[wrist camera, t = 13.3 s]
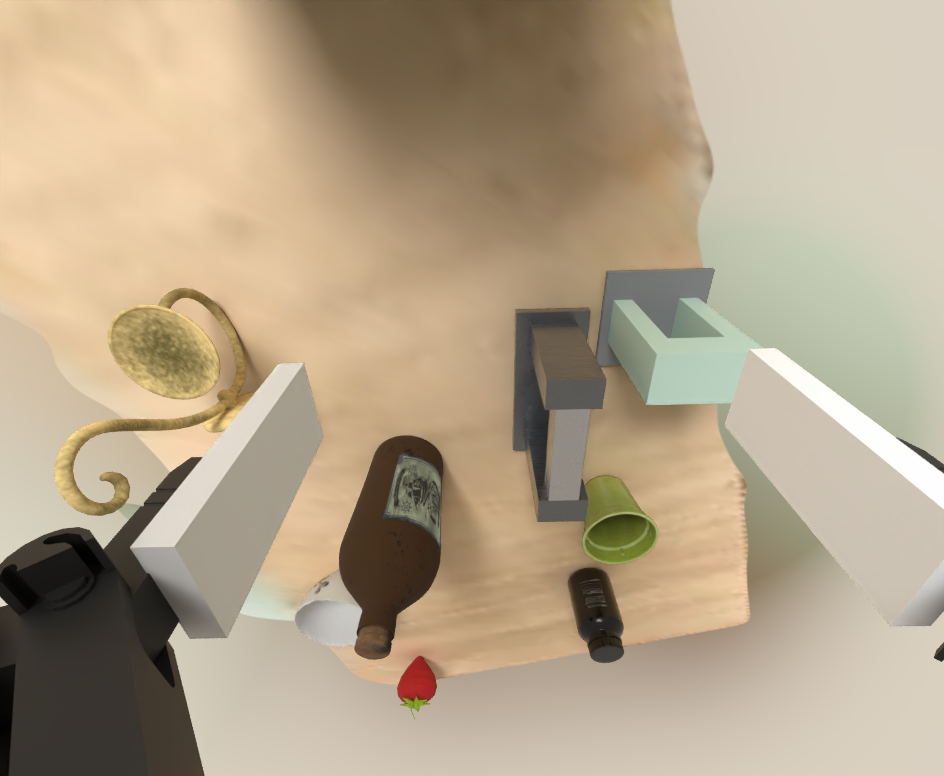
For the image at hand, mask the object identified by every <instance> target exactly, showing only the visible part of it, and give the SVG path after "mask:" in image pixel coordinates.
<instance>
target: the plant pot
mask: <svg viewBox="0 0 944 776" xmlns="http://www.w3.org/2000/svg"><path fill="white" fill-rule="evenodd" d="M585 490H586V493H587V496H588V499H589V501H588V508H587V515H586V521H585V529H584V534H583V537H582V545H583V548H584V551H585V552H586V553H587V555H588V556H589V557H591V558H592V559H594V560H596V561H598V562H602V563H606V564H623V563H628V562H632V561H634V560H637V559H639V558H641V557H643V556H644V555H646V554H647V553H648V552H650V551H651V550H652V549H653V547H654V546H655V545H656V543H657V540H658V536H659V531H658V528H657V526H656V524H655V522H654V521H653V520H652V519H651V518H650V517H648V516H647V515H646V514H645V513H644V512H643V511H641V509H640V508H639V506H638V504H637V503H636V501H635V500H634V498H633V497H632V495H631V494H630V492H629V491H628V489H627V487H626V486H625V484H624V483H623V482H622V481H621V480H620V479H619V478H614V477H609V476H600V477H596V478H594V479H592V480H590V481H589V482H588V483H587V484H586V486H585Z"/></svg>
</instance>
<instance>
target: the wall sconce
mask: <svg viewBox="0 0 944 776" xmlns="http://www.w3.org/2000/svg"><path fill="white" fill-rule="evenodd" d="M181 298H191V299H194V300H196V301H198V302H200V303H201V304H203V305H204V306H205V307H206V308H207V309H208V310H209V311H210V312H211V313H212V314H213V315H214V316H215V317H216V319H217V320H218V321H219V323H220V324H221V326H222V327H223V329H224V330H225V332H226V334H227V336H228V338H229V340H230V343H231V345H232V348H233V352H234V356H235V361H236V377H235V381H234V384H233V385H232V387H231V389H230V390H222V391H220V392H219V393H218V395H217V397H218V399H219V400H220V402H218V403H217V404H216V405H214V406H213V407H211V408H210V409H208V410H205V411H203V412H201V413H198V414H195V415H192V416H188V417H183V418H178V419H114V420H105V421H99V422H95V423H92V424H89V425H86V426H85V427H83V428H81V429H79V430H77V431H76V432H75V433H74V434H72V435H71V436H70V437H69V438H68V440H67V441H66V442H65V443H64V444H63V446H62V448H61V450H60V452H59V453H58V456H57V460H56V463H55V480H56V486H57V488H58V490H59V492H60V494H61V496H62V497H63V498H64V500H65V501H66V502H67V503H68V504H69V505H70V506H72V507H73V508H74V509H76V510H77V511H79V512H82V513H85V514H87V515H97V516H102V515H105V514H110V513H113V512H115V511H116V510H118V509H119V508H121V507H122V506H123V505H124V504H125V502H126V501H127V499H128V498H129V491H130V486H129V483H128V480H127V478H126V477H124V476H123V475H122V474H120V473H115V472H106V473H104V474H102V475H101V476H100V480H101V481H108V482H111V483H112V484H113V485H114V489H115V494H114V498H113V499H112V500H111V501H110V502H107V503H96V502H93V501H91V500H90V499H88V498H87V497H85V496H84V495H83V494H82V493H81V491H80V490H79V488H78V487H77V485H76V482H75V480H74V474H73V465H74V460H75V457H76V454H77V453H78V451H79V450H80V448H81V447H82V446H83V444H84V443H85V442H87V441H88V440H89V439H90V438H92V437H94V436H96V435H99V434H102V433H108V432H117V431H161V430H174V429H181V428H186V427H190V426H193V425H197V424H200V423H202V422H204V423H203V424H204V428H205V429H206V430H207V431H208V432H221V431H225V429H226V428H227V427H228V426H229V424H230V423H231V422H232V421H233V419H234V418H235V417H236V416H237V415H238V413H239V412H240V411H241V410H242V408H243V407H244V406H245V405H246V403H247V402H248V401H249V400H250V398H251V397H252V396H253V395H254V393H255V392H251V393H246V394H243V395H240V396H237V395H238V394H239V392H240V390H241V388H242V386H243V384H244V380H245V359H244V354H243V350H242V346H241V343H240V341H239V338H238V336H237V334H236V332H235V330H234V328H233V326H232V325H231V323H230V321H229V320H228V318H227V317H226V316H225V314H224V313H223V312H222V310H221V309H220V308H219V307H218V306H217V305H216V304H215V303H214V302H213V301H212V300H211V299H210V298H208V297H207V296H205V295H204V294H202V293H200V292H198V291H196V290H193V289H188V288H180V289H175V290H173V291H171V292H169V293H168V294H166V295H165V296H164V297H163V298H162V299H161V301H160V303H159V305H158V306H156V305H136V306H131V307H129V308H126V309H124V310H122V311H121V312H119V313H118V314H117V315H116V316H115V317H114V318H113V320H112V322H111V324H110V326H109V330H108V343H109V347H110V350H111V353H112V355H113V357H114V359H115V361H116V362H117V364H118V365H119V366H120V368H121V369H122V370H123V371H124V372H125V373H126V374H127V375H128V376H129V377H130V378H131V379H132V380H133V381H134V382H136V383H137V384H139V385H140V386H142V387H143V388H145V389H147V390H148V391H151V392H153V393H155V394H158V395H160V396H163V397H167V398H172V399H193V398H197V397H200V396H202V395H204V394H206V393H207V392H209V391H210V390H211V389H212V388H213V387H214V386H215V384H216V382H217V380H218V378H219V374H220V360H219V356H218V353H217V350H216V348H215V346H214V344H213V343H212V341H211V340H210V338H209V337H208V335H207V334H206V333H205V332H204V331H203V330H202V329H201V328H200V327H199V326H198V325H197V324H195V323H194V322H193V321H192V320H190V319H189V318H187V317H186V316H184V315H182V314H180V313H178V312H176V311H174V310H171V309H170V308H171V306H172V305H173V304H174V303H175V302H176V301H177V300H179V299H181Z"/></svg>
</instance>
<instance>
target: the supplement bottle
mask: <svg viewBox="0 0 944 776" xmlns="http://www.w3.org/2000/svg"><path fill="white" fill-rule="evenodd" d="M568 587H569V592H570V597H571V601H572V606H573V611H574V615H575V620H576V625H577V629H578V633H579V635H580V637H581V638H582V639H583V640H584V641H586V642H587V645H588V649H589V652H590V656H591V658H592V659H593V660H594V661H596V662H600V663H610V662H613V661H616V660H618V659H620V658H621V657H622V656H623V654H624V650H623V646H622V640H621V638H620V636H621V635H622V633H623V629H624V626H623V622H622V618H621V615H620V612H619V608H618V605H617V602H616V598H615V595H614V592H613V589H612V585H611V582H610V579H609V577H608V575H607V574H606V573H605V572H604V571H602V570H600V569H597V568H585V569H581V570H579V571H577V572H575V573H574V574H572V576H571V577H570V578H569V581H568Z"/></svg>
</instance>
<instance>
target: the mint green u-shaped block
mask: <svg viewBox="0 0 944 776" xmlns="http://www.w3.org/2000/svg"><path fill="white" fill-rule="evenodd" d="M608 344H609V345H610V347H611V349H612V350H613V352H614V353H615V355H616V357H617V358H618V360H619V362H620V363H621V365H622V366H623V368H624V370H625V371H626V373H627V375H628V376H629V378H630V379H631V381H632V383H633V384H634V386H635V388H636V389H637V391H638V392H639V394H640V396H641V397H642V399H643V401H644V402H645V404H646V405H674V404H718V403H732V401H733V398H734V394H735V391H736V388H737V385H738V382H739V379H740V376H741V373H742V370H743V366H744V363H745V360H746V357H747V354H748V351H749V349H764V348H762V347H761V346H760V345H758V344H757V343H756V342H755V341H753V340H752V339H751V338H749V337H748V336H747V335H746V334H744V333H743V332H742V331H740V330H739V329H738V328H736V327H735V326H734V325H733V324H731V323H730V322H729V321H727V320H726V319H725V318H724V317H722V316H721V315H720V314H718V313H717V312H716V311H714V310H713V309H712V308H710V307H709V306H708V305H707V304H705V303H704V302H703V301H702V300H700V299H699V298H679V302H678V306H677V311H676V315H675V320H674V324H673V329H672V333H671V338H667V337H666V336H665V335H664V334H663V333H662V332H661V331H660V329H659V328H658V327H657V326H656V325H655V324H654V323H653V322H652V321H651V320H650V318H649V317H648V316H647V315H646V314H645V313H644V312H643V311H642V310H641V309H640V307H639V306H638V305H637V304H636V303H635V302H634V301H633V300H614V301H613V308H612V315H611V322H610V330H609V337H608Z"/></svg>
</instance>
